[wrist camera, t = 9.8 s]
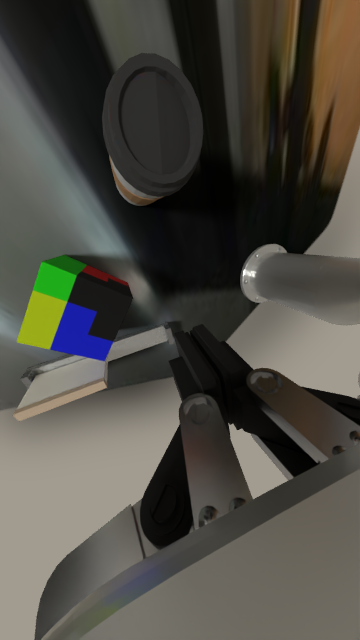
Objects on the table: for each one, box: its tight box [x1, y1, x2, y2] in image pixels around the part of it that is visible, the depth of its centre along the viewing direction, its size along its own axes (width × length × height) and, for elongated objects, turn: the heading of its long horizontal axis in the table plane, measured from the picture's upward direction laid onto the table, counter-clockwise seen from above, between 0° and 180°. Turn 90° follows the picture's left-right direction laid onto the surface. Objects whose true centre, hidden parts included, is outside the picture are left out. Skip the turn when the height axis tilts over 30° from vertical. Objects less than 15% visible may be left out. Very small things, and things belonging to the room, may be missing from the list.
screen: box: [13, 356, 108, 421], centre depth 29 cm, size 12×1×8 cm, turn 101°
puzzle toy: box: [17, 255, 133, 361], centre depth 26 cm, size 10×10×10 cm
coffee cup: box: [102, 53, 203, 206], centre depth 20 cm, size 8×8×15 cm
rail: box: [21, 322, 174, 389], centre depth 34 cm, size 26×4×3 cm, turn 101°
